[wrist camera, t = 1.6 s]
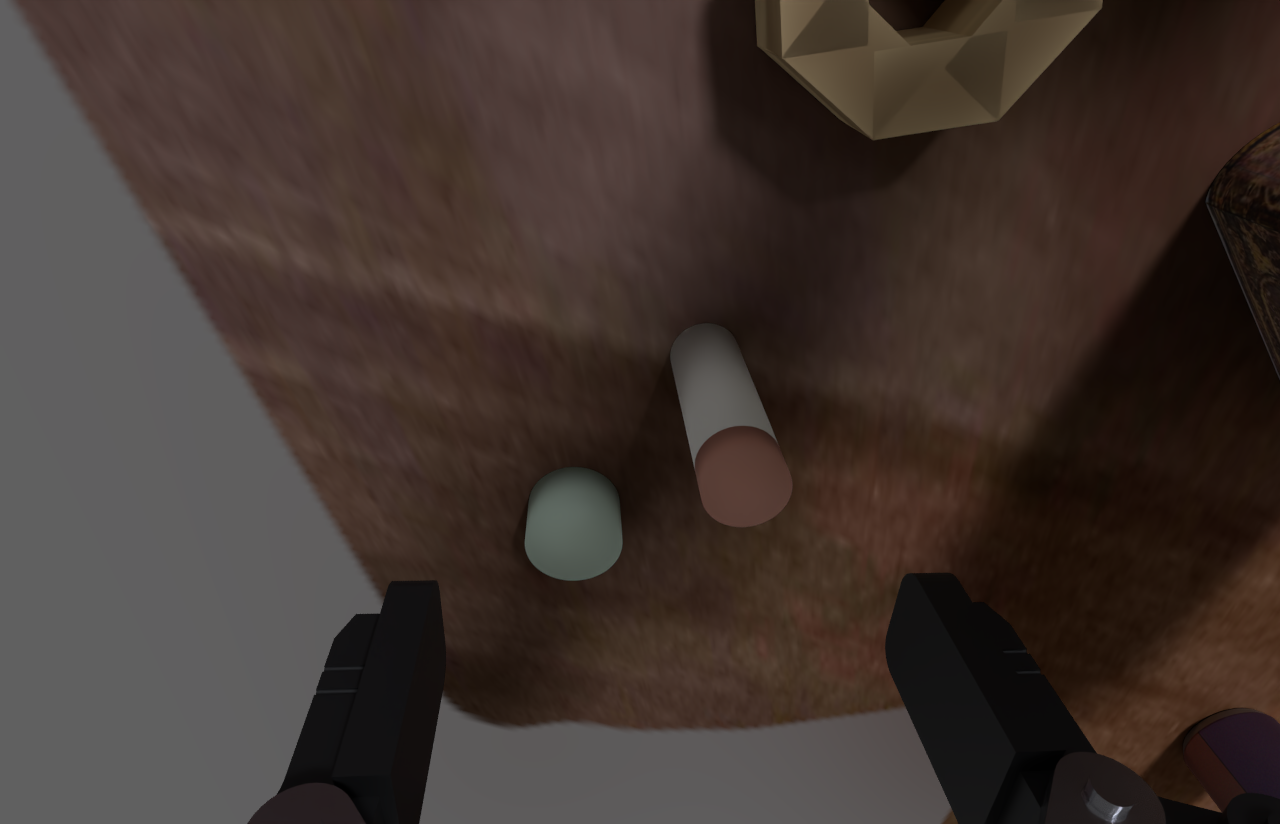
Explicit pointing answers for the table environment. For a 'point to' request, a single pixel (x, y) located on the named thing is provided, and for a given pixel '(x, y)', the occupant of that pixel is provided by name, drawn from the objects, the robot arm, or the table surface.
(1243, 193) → the book
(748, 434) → the grey cylinder
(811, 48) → the bead
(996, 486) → the table surface
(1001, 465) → the table surface
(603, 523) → the bead
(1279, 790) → the beverage can
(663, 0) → the table surface
